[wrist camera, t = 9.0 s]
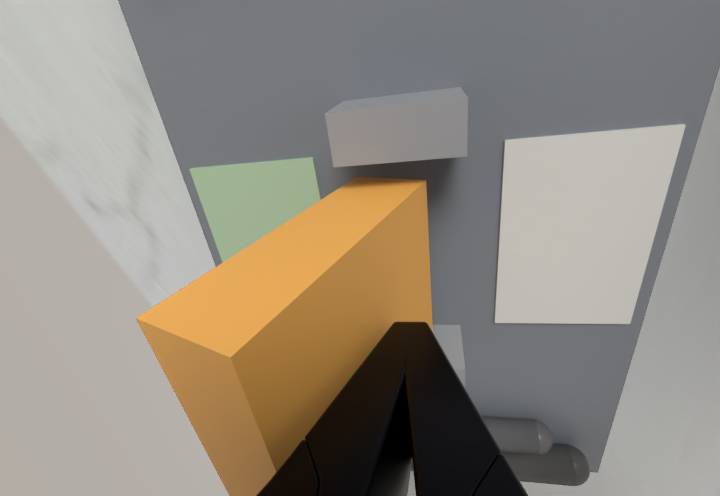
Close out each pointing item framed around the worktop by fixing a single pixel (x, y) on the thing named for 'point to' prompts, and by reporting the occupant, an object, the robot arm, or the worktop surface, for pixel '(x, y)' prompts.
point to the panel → (461, 168)
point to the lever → (292, 322)
